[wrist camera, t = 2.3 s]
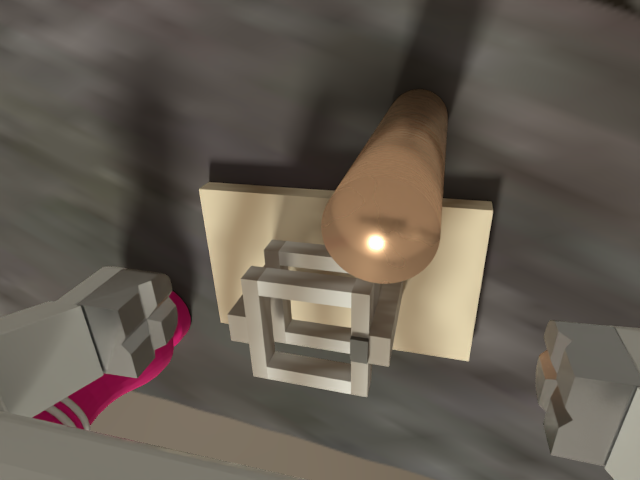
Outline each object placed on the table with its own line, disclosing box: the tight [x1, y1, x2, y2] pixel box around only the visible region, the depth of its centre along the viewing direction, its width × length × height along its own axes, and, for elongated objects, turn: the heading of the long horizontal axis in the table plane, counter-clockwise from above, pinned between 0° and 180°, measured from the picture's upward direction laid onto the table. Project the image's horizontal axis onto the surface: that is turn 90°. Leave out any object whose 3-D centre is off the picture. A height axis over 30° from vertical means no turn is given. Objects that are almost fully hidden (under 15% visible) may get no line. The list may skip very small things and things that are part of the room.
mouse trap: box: [199, 182, 493, 397], centre depth 29 cm, size 20×12×9 cm, turn 93°
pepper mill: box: [32, 291, 191, 431], centre depth 32 cm, size 7×7×20 cm
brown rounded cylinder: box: [321, 89, 448, 284], centre depth 20 cm, size 4×4×16 cm
